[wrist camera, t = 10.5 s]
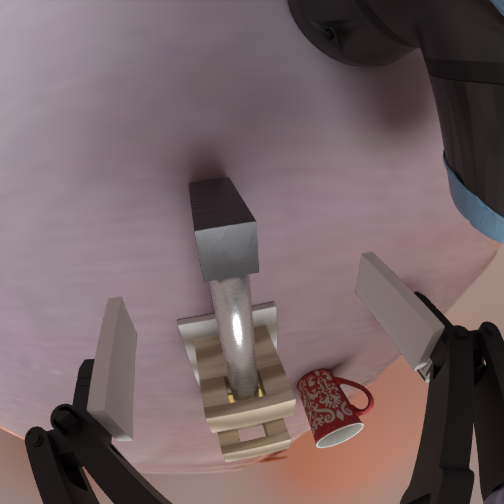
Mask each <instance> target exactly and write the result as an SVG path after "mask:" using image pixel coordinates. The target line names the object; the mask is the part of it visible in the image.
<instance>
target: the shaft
mask: <svg viewBox="0 0 504 504" xmlns="http://www.w3.org/2000/svg"><path fill="white" fill-rule="evenodd" d="M189 191H190V200H191V208H192V216H193V223H194V231H195V237H196V243H197V248H198V254H199V260H200V265H201V270H202V276H203V281H204V282H208V281H209V284H210V289H211V295H212V300H213V306H214V311H215V316H216V321H217V326H218V331H219V336H220V341H221V346H222V351H223V356H224V360H225V365H226V370H227V374H228V379H229V383H230V388H231V392H232V396H233V401H234V402H238V401H243V400H248V399H252V398H257V397H259V386H258V375H257V363H256V351H255V339H254V327H253V315H252V303H251V291H250V279H249V274H252V273H258V272H259V261H258V244H257V227H256V220H255V219H254V217H253V215H252V214H251V212H250V210H249V209H248V207H247V206H246V204H245V202H244V201H243V199H242V198H241V196H240V194H239V193H238V191H237V190H236V188H235V186H234V185H233V183H232V182H231V180H230V178H229V177H228V178H221V179H214V180H207V181H201V182H194V183H189Z"/></svg>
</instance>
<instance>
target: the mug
mask: <svg viewBox="0 0 504 504" xmlns="http://www.w3.org/2000/svg"><path fill="white" fill-rule="evenodd" d="M340 384H347V385H350V386H353V387H356V388H358V389H360V390H362V391H363V392H364V393H365V394H366V395H367V397H368V400H369V403H368V406H367V407H366V408H365V409H362V410H361V409H358V408H356V407H355V406H354V405H351V404H350V402H349V401H348V399H347V397H346V396H345V394H344V392H343V391H342V389H341V388H340ZM297 388H298V391H299V395H300V397H301V400H302V403H303V406H304V409H305V412H306V415H307V418H308V421H309V424H310V427H311V430H312V433H313V436H314V439H315V442H316V447H318V448H326V447H331V446H334V445H336V444H339V443H341V442H343V441H346V440H348V439H349V438H351V437H353V436H354V435H356V434H357V433H358V432H360V431H361V430H362V428H363V427H364V424H363V423H362V422H361V421H360V419H359V418H358V417H359V416H360V415H363V414H366V413H368V412H369V411H370V410H371V409H372V407H373V405H374V399H373V397H372V395H371V393H370V392H369V391H368V390H367V389H366V388H365V387H363V386H362V385H360V384H358V383H355V382H353V381H350V380H347V379H343V378H339V377H335V376H334V375H333V374H332V372H331V371H330V370H327V369H320V370H316V371H313V372H311V373H309V374H307V375H305V376H304V377H303V378H302V379H301V380H300V381H299V382H298V385H297Z"/></svg>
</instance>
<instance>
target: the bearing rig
mask: <svg viewBox="0 0 504 504" xmlns="http://www.w3.org/2000/svg"><path fill="white" fill-rule="evenodd" d="M252 315H253V327H254V339H255V351H256V363H257V375H258V386H259V387H260V390H261V393H262V396H261V397H257V398H252V399H248V400H243V401H238V402H233V403H230V401H229V397H228V393H229V392H231V388H230V383H229V379H228V374H227V370H226V365H225V360H224V356H223V351H222V346H221V341H220V336H219V331H218V326H217V321H216V316H215V314H210V315H204V316H198V317H193V318H187V319H181V320H178V326H179V330H180V333H181V336H182V339H183V342H184V345H185V348H186V351H187V354H188V357H189V360H190V363H191V366H192V368H193V371H194V374H195V377H196V379H197V382H198V385H199V388H200V390H201V393H202V400H203V406H204V412H205V417H206V421H207V423H208V425H209V427H210V429H211V432H212V433H214V432H218V436H219V441H220V446H221V450H222V455H223V457H224V459H225V461H226V462H230V461H235V460H240V459H245V458H250V457H255V456H259V455H264V454H268V453H272V452H276V451H280V450H283V449H287V448H290V441H291V438H290V436H289V433H288V430H287V427H286V425H285V422H284V419H283V418H284V417H287V416H291V415H294V411H295V402H296V398H295V396H294V393H293V391H292V388H291V386H290V383H289V381H288V379H287V376H286V374H285V371H284V369H283V366H282V364H281V361H280V359H279V356H278V354H277V332H276V305H275V303H274V302H271V303H266V304H261V305H256V306H252ZM259 425H263V428H264V431H265V434H266V437H262V438H258V439H253V440H249V441H244V442H240V439H239V435H238V431H237V430H241V429H245V428H250V427H255V426H259Z"/></svg>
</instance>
